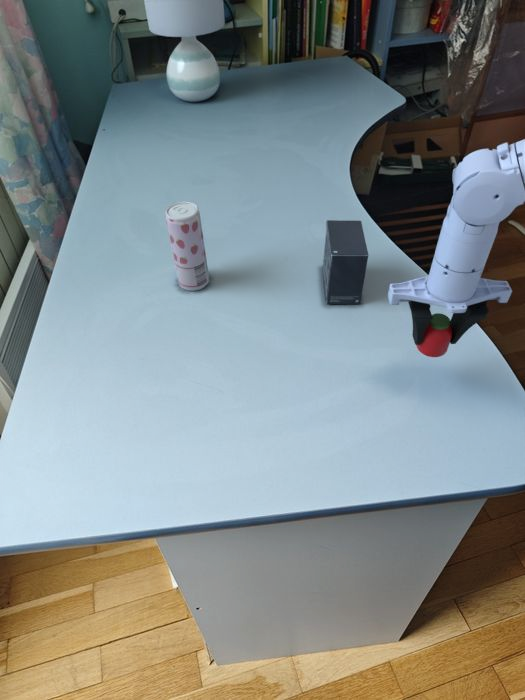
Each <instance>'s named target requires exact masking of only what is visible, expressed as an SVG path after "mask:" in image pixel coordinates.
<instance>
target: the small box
mask: <svg viewBox="0 0 525 700" xmlns="http://www.w3.org/2000/svg"><path fill="white" fill-rule="evenodd" d="M325 223H326V225H325V228H326V229H325V230H326V231H325V238H324V239H325V240H324V248H323V249H324V251H323V259H322V268H321V269H322V271H321V272H322V282H323V292H324V293H323V294H324V300H325V302H324V303H325V304H326V305H361V303H362V302H361V301H362V296H363V290H364V283H365V279H366V273H367V266H368V262H369V256H370V255H369V251H368V247H367V246H368V245H367V242H366V237H365V232H364V228H363V223H362V221H361V220H337V219H336V220H335V219H334V220H332V219H330V220H329V219H328V220H326V222H325Z"/></svg>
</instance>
